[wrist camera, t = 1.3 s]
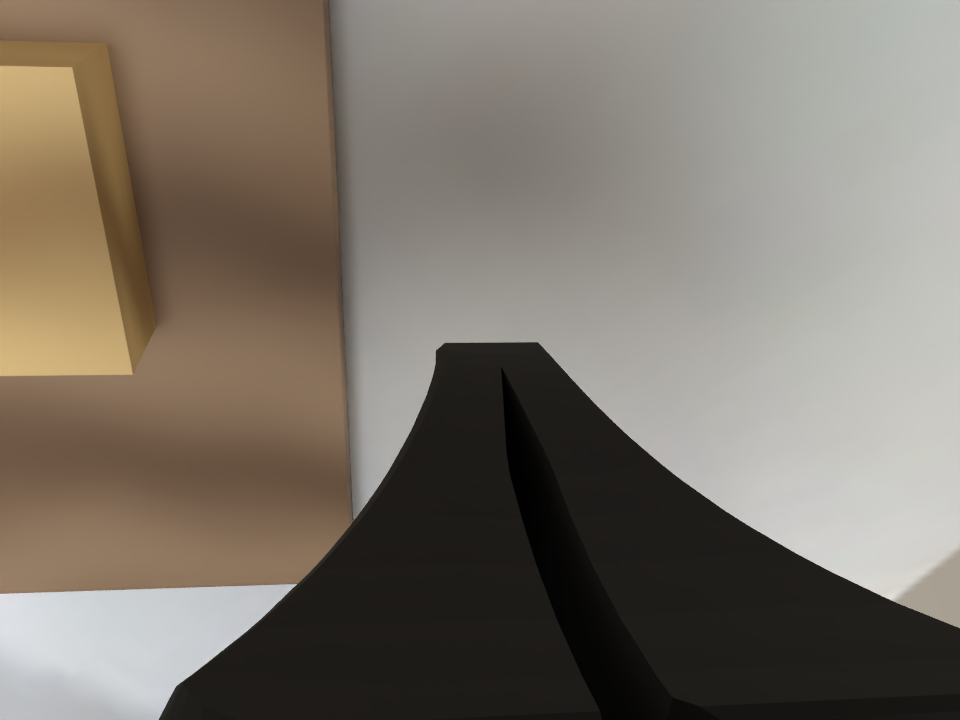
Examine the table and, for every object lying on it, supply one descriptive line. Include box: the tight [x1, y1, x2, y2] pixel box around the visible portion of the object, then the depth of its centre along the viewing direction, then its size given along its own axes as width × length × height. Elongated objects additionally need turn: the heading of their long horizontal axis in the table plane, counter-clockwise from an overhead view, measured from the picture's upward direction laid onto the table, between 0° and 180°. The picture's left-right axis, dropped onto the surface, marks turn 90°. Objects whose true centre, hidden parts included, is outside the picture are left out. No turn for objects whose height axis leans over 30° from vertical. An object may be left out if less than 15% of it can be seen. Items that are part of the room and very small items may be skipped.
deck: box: [0, 0, 353, 594], centre depth 18 cm, size 20×10×2 cm, turn 178°
